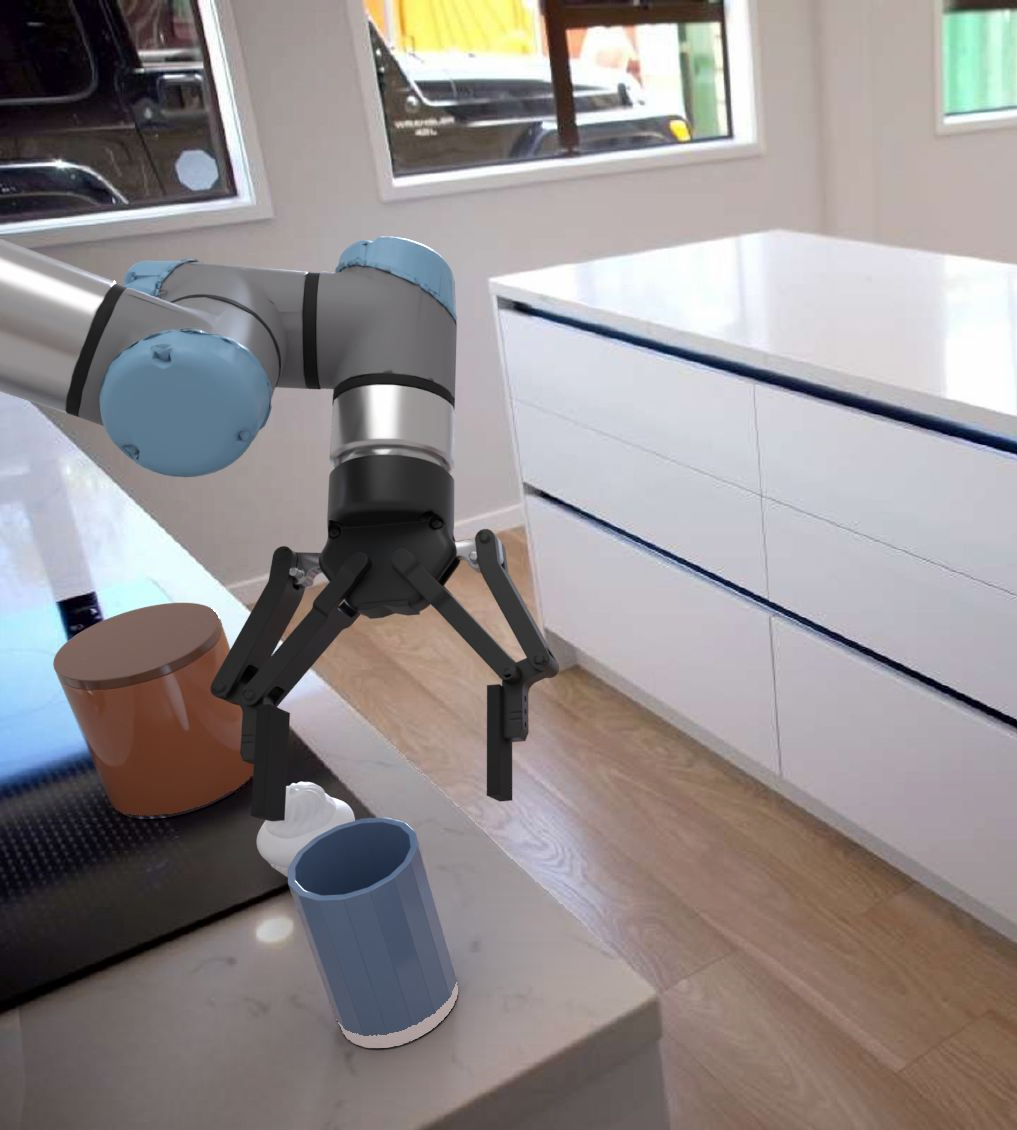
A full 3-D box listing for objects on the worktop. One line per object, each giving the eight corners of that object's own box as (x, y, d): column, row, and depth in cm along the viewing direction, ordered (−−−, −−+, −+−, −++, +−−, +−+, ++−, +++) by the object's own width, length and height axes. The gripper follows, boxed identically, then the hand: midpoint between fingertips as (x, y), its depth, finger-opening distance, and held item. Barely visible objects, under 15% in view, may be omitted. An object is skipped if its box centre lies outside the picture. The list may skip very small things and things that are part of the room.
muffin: (263, 866, 88) (233, 783, 84) (353, 830, 90) (328, 748, 87) (282, 916, 83) (252, 830, 80) (377, 876, 86) (351, 792, 83)
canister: (102, 837, 92) (41, 696, 86) (117, 756, 101) (63, 624, 96) (265, 793, 95) (217, 654, 90) (265, 719, 104) (222, 589, 99)
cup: (341, 1066, 71) (288, 915, 66) (336, 984, 77) (286, 839, 72) (465, 1024, 74) (422, 875, 69) (451, 947, 79) (411, 804, 74)
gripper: (600, 477, 85) (609, 798, 79) (225, 509, 85) (203, 833, 79) (575, 431, 78) (582, 780, 72) (166, 467, 78) (135, 819, 72)
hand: (383, 809), depth 75 cm, fingers open, 13 cm apart
